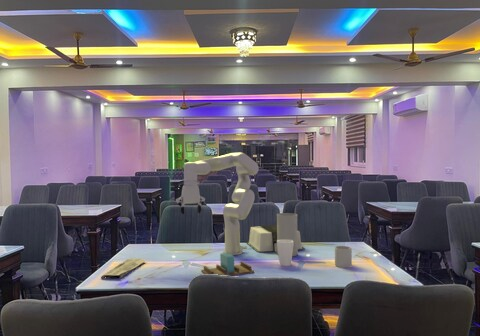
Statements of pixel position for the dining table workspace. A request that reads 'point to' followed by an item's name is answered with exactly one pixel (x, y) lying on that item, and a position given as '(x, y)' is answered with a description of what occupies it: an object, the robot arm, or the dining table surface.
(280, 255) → the foam cup
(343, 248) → the mug
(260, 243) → the cake box
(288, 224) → the cylinder vase
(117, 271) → the newspaper
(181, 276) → the dining table surface
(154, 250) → the dining table surface
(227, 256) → the block
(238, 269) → the rack
